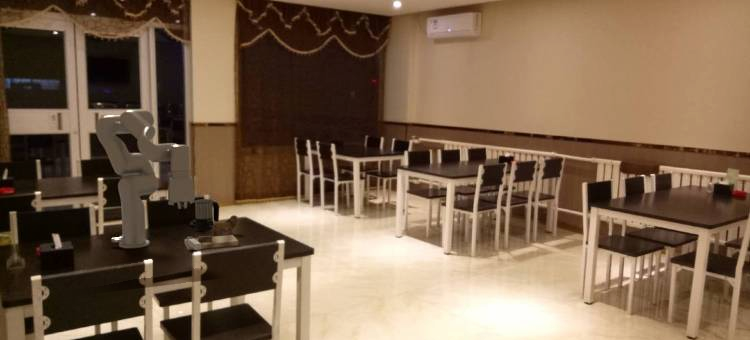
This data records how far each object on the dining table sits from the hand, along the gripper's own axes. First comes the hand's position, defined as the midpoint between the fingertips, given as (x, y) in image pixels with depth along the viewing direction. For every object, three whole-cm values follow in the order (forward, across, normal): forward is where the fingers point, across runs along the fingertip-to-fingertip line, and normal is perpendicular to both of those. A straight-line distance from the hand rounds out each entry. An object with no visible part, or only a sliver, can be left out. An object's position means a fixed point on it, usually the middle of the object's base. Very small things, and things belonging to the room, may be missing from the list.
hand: (181, 217), depth 239 cm
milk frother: (+17, +23, +46) cm, 54 cm away
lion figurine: (+17, +28, +26) cm, 42 cm away
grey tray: (+16, +16, +12) cm, 26 cm away
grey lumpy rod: (+14, +6, +4) cm, 16 cm away
